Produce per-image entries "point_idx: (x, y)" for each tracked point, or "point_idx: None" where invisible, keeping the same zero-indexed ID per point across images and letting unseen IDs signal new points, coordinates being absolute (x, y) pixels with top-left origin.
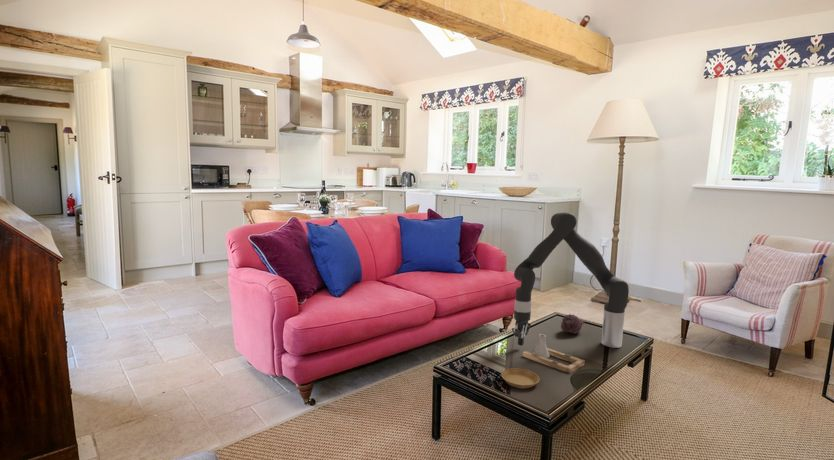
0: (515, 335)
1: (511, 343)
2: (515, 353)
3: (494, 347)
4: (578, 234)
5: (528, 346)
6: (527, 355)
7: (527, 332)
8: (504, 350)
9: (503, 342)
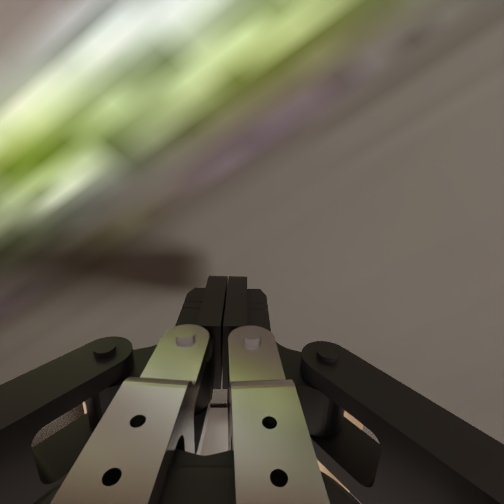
0: (60, 375)
1: (307, 112)
2: (98, 300)
3: (13, 29)
4: None
5: (357, 290)
6: None
7: (355, 452)
8: (57, 182)
9: (260, 6)
